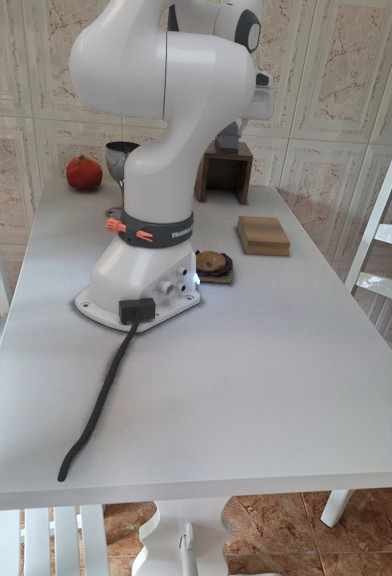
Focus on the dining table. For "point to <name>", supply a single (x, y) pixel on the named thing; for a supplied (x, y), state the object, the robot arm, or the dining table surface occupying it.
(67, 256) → the dining table surface
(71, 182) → the red pomegranate
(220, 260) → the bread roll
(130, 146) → the wine glass
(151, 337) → the dining table surface
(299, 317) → the dining table surface
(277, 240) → the brown wooden block
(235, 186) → the open box
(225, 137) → the grey notched block
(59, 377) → the dining table surface
